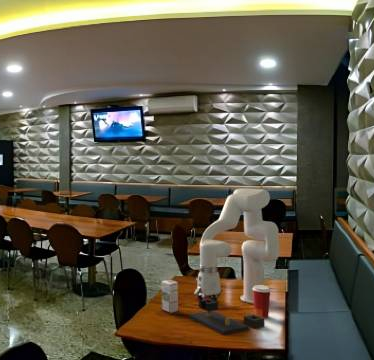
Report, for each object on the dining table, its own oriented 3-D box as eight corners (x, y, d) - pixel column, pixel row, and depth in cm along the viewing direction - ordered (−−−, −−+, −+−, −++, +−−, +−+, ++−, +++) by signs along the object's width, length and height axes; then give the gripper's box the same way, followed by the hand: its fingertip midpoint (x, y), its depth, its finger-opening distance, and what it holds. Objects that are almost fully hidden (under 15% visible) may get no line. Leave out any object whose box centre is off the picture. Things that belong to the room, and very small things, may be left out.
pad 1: (208, 305, 210) (209, 298, 210) (218, 309, 204) (218, 302, 204) (198, 307, 208) (198, 300, 208) (207, 311, 202) (207, 303, 202)
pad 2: (253, 322, 202) (253, 314, 202) (264, 326, 196) (264, 318, 196) (243, 323, 200) (243, 316, 200) (254, 328, 194) (254, 320, 194)
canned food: (213, 301, 231) (213, 281, 230) (196, 301, 232) (196, 280, 232) (210, 297, 238) (210, 277, 238) (195, 296, 240) (195, 276, 239)
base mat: (212, 313, 214) (212, 304, 213) (248, 329, 193) (248, 319, 193) (189, 317, 209) (189, 308, 208) (223, 334, 188) (223, 324, 188)
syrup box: (178, 310, 218) (178, 281, 217) (169, 313, 215) (169, 283, 214) (169, 307, 223) (169, 279, 222) (161, 309, 220) (161, 281, 219)
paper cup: (269, 314, 211) (269, 285, 211) (271, 320, 204) (272, 290, 203) (251, 312, 214) (251, 284, 213) (253, 318, 207) (253, 288, 206)
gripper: (199, 273, 199) (198, 312, 199) (229, 269, 205) (228, 307, 206) (188, 269, 206) (187, 307, 206) (217, 265, 212) (217, 303, 213)
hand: (208, 307), depth 206 cm, fingers closed on pad 1, 6 cm apart
